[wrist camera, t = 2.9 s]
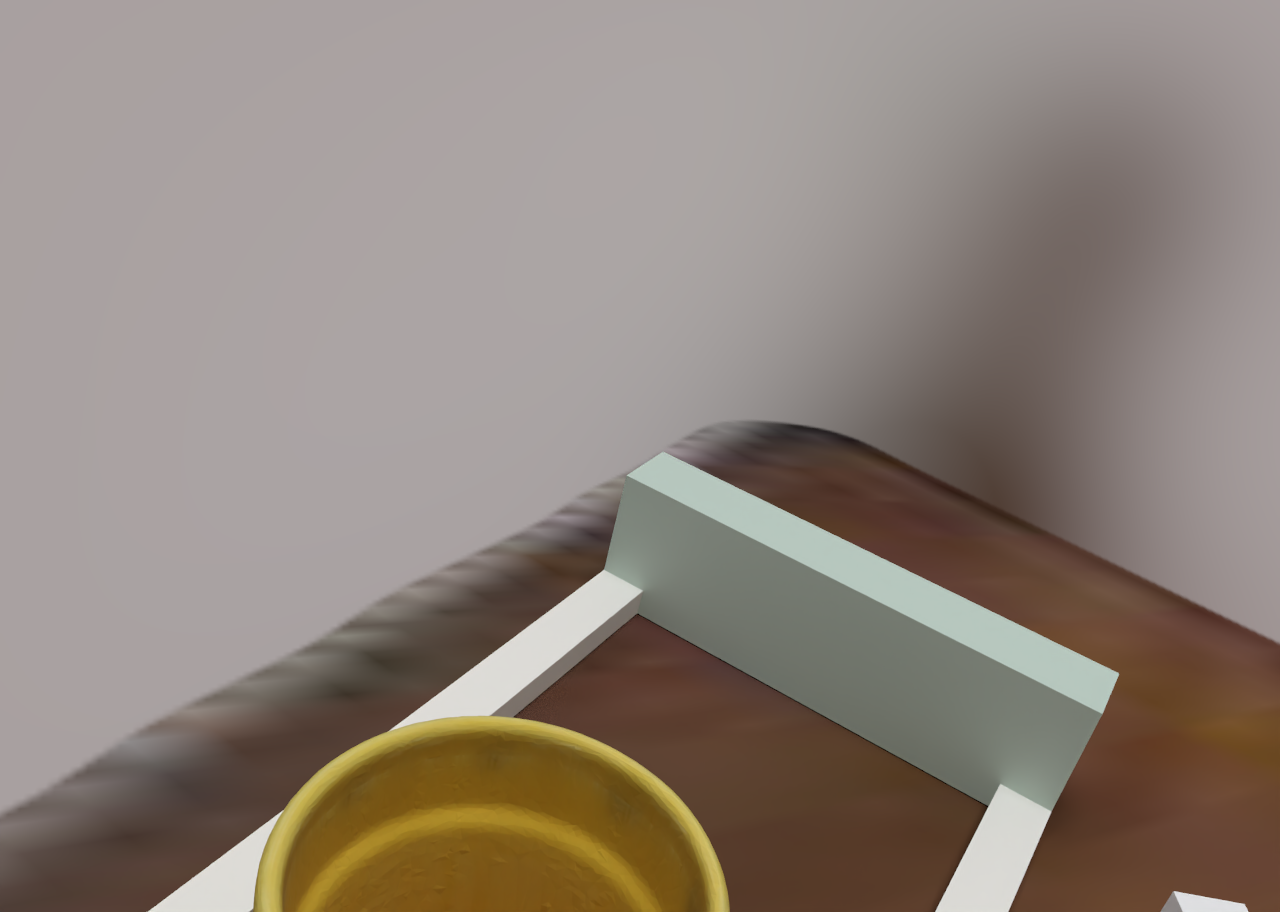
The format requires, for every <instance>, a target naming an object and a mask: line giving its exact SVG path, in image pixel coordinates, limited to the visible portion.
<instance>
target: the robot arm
mask: <svg viewBox="0 0 1280 912" xmlns="http://www.w3.org/2000/svg"><path fill="white" fill-rule="evenodd" d="M1161 912H1248V910H1247V908H1246V906H1245V904H1241V903H1235V902H1230V901H1224V900H1219V899H1213V898H1208V897H1203V896H1197V895H1192V894H1186V893H1181V892H1175V891H1173V893H1172V894H1171V896H1170V898H1169V899H1168V901H1167V902H1166V904H1165V905H1164V907H1163V909H1162V910H1161Z"/></svg>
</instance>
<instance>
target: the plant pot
mask: <svg viewBox="0 0 1280 912" xmlns="http://www.w3.org/2000/svg"><path fill="white" fill-rule="evenodd" d="M253 912H730V908H729V898H728V892H727V887H726V883H725V879H724V875H723V872H722V869H721V866H720V863H719V861H718V858H717V856H716V854H715V851H714V849H713V847H712V845H711V843H710V841H709V839H708V837H707V835H706V834H705V832H704V830H703V828H702V827H701V825H700V824H699V822H698V821H697V819H696V818H695V817H694V815H693V814H692V812H691V811H690V810H689V808H688V807H687V806H686V805H685V804H684V803H683V802H682V800H681V799H680V798H679V797H678V796H677V795H676V794H675V793H674V792H673V791H672V790H671V789H670V788H669V787H668V786H667V785H666V784H665V783H664V782H662V781H661V780H660V779H659V778H657V777H656V776H655V775H654V774H652V773H651V772H650V771H648V770H647V769H645V768H644V767H643V766H641V765H640V764H638V763H637V762H636V761H634V760H632V759H631V758H629V757H627V756H626V755H624V754H622V753H620V752H619V751H617V750H615V749H613V748H612V747H610V746H607V745H605V744H603V743H601V742H599V741H597V740H594V739H592V738H590V737H587V736H585V735H582V734H580V733H577V732H574V731H571V730H568V729H565V728H562V727H558V726H554V725H550V724H546V723H542V722H538V721H531V720H525V719H519V718H511V717H500V716H460V717H448V718H441V719H435V720H430V721H424V722H419V723H414V724H411V725H407V726H404V727H401V728H398V729H394V730H391V731H389V732H386V733H383V734H381V735H378V736H376V737H373V738H371V739H369V740H367V741H365V742H363V743H361V744H359V745H357V746H355V747H353V748H351V749H350V750H348V751H346V752H345V753H343V754H341V755H340V756H338V757H337V758H335V759H334V760H332V761H331V762H330V763H328V764H327V765H326V766H324V767H323V768H322V769H321V770H319V771H318V772H317V773H316V774H315V775H314V776H313V777H312V778H311V779H310V780H309V781H308V782H307V783H306V784H305V785H304V786H303V787H302V788H301V789H300V790H299V791H298V793H297V794H296V795H295V796H294V797H293V798H292V799H291V800H290V802H289V803H288V805H287V806H286V808H285V809H284V811H283V812H282V814H281V815H280V817H279V818H278V820H277V822H276V824H275V826H274V827H273V829H272V831H271V833H270V835H269V837H268V840H267V842H266V845H265V847H264V850H263V853H262V857H261V860H260V863H259V868H258V873H257V879H256V885H255V893H254V905H253Z"/></svg>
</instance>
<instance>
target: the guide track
mask: <svg viewBox="0 0 1280 912" xmlns="http://www.w3.org/2000/svg"><path fill="white" fill-rule="evenodd" d="M637 613H638V614H639V615H641V616H643V617H645V618H647V619H649V620H650V621H652V622H654V623H656V624H658V625H659V626H661V627H663V628H665V629H667V630H669V631H670V632H672V633H674V634H676V635H678V636H679V637H681V638H683V639H685V640H687V641H689V642H690V643H692V644H694V645H696V646H698V647H700V648H701V649H703V650H705V651H707V652H709V653H710V654H712V655H714V656H716V657H718V658H720V659H721V660H723V661H725V662H727V663H729V664H730V665H732V666H734V667H736V668H738V669H740V670H741V671H743V672H745V673H747V674H749V675H750V676H752V677H754V678H756V679H758V680H760V681H761V682H763V683H765V684H767V685H769V686H770V687H772V688H774V689H776V690H778V691H780V692H781V693H783V694H785V695H787V696H789V697H790V698H792V699H794V700H796V701H798V702H800V703H801V704H803V705H805V706H807V707H809V708H810V709H812V710H814V711H816V712H818V713H820V714H821V715H823V716H825V717H827V718H829V719H830V720H832V721H834V722H836V723H838V724H840V725H841V726H843V727H845V728H847V729H849V730H850V731H852V732H854V733H856V734H858V735H860V736H861V737H863V738H865V739H867V740H869V741H871V742H872V743H874V744H876V745H878V746H880V747H881V748H883V749H885V750H887V751H889V752H891V753H892V754H894V755H896V756H898V757H900V758H901V759H903V760H905V761H907V762H909V763H911V764H912V765H914V766H916V767H918V768H920V769H921V770H923V771H925V772H927V773H929V774H931V775H932V776H934V777H936V778H938V779H940V780H941V781H943V782H945V783H947V784H949V785H951V786H952V787H954V788H956V789H958V790H960V791H961V792H963V793H965V794H967V795H969V796H971V797H972V798H974V799H976V800H978V801H980V802H981V803H983V804H985V805H987V806H989V807H988V809H987V811H986V813H985V815H984V817H983V819H982V821H981V823H980V825H979V827H978V829H977V831H976V833H975V834H974V836H973V838H972V840H971V842H970V844H969V846H968V848H967V850H966V852H965V854H964V856H963V858H962V860H961V862H960V864H959V866H958V868H957V870H956V872H955V874H954V876H953V878H952V880H951V882H950V884H949V886H948V888H947V890H946V892H945V894H944V896H943V898H942V900H941V901H940V903H939V905H938V907H937V909H936V911H935V912H1008V911H1009V909H1010V907H1011V904H1012V902H1013V900H1014V897H1015V895H1016V893H1017V890H1018V888H1019V886H1020V883H1021V881H1022V879H1023V876H1024V874H1025V872H1026V869H1027V867H1028V865H1029V863H1030V860H1031V858H1032V856H1033V853H1034V851H1035V849H1036V846H1037V844H1038V842H1039V839H1040V837H1041V835H1042V832H1043V830H1044V828H1045V825H1046V823H1047V821H1048V818H1049V816H1050V814H1051V811H1052V810H1053V808H1054V806H1055V804H1056V802H1057V800H1058V798H1059V796H1060V794H1061V792H1062V790H1063V788H1064V787H1065V785H1066V783H1067V781H1068V779H1069V777H1070V775H1071V773H1072V771H1073V769H1074V767H1075V765H1076V763H1077V762H1078V760H1079V758H1080V756H1081V754H1082V752H1083V750H1084V748H1085V746H1086V744H1087V742H1088V740H1089V739H1090V737H1091V735H1092V733H1093V731H1094V729H1095V727H1096V725H1097V723H1098V721H1099V719H1100V717H1101V716H1102V714H1103V711H1104V709H1105V706H1106V704H1107V702H1108V699H1109V697H1110V694H1111V692H1112V690H1113V687H1114V685H1115V682H1116V680H1117V678H1118V675H1119V673H1117V672H1115V671H1113V670H1111V669H1109V668H1107V667H1105V666H1103V665H1100V664H1098V663H1096V662H1094V661H1092V660H1090V659H1088V658H1086V657H1084V656H1082V655H1080V654H1078V653H1076V652H1074V651H1072V650H1070V649H1068V648H1065V647H1063V646H1061V645H1059V644H1057V643H1055V642H1053V641H1051V640H1049V639H1047V638H1045V637H1043V636H1041V635H1039V634H1037V633H1035V632H1033V631H1031V630H1028V629H1026V628H1024V627H1022V626H1020V625H1018V624H1016V623H1014V622H1012V621H1010V620H1008V619H1006V618H1004V617H1002V616H1000V615H998V614H996V613H994V612H991V611H989V610H987V609H985V608H983V607H981V606H979V605H977V604H975V603H973V602H971V601H969V600H967V599H965V598H963V597H961V596H959V595H957V594H954V593H952V592H950V591H948V590H946V589H944V588H942V587H940V586H938V585H936V584H934V583H932V582H930V581H928V580H926V579H924V578H922V577H919V576H917V575H915V574H913V573H911V572H909V571H907V570H905V569H903V568H901V567H899V566H897V565H895V564H893V563H891V562H889V561H887V560H885V559H882V558H880V557H878V556H876V555H874V554H872V553H870V552H868V551H866V550H864V549H862V548H860V547H858V546H856V545H854V544H852V543H850V542H848V541H845V540H843V539H841V538H839V537H837V536H835V535H833V534H831V533H829V532H827V531H825V530H823V529H821V528H819V527H817V526H815V525H813V524H810V523H808V522H806V521H804V520H802V519H800V518H798V517H796V516H794V515H792V514H790V513H788V512H786V511H784V510H782V509H780V508H778V507H776V506H773V505H771V504H769V503H767V502H765V501H763V500H761V499H759V498H757V497H755V496H753V495H751V494H749V493H747V492H745V491H743V490H741V489H739V488H736V487H734V486H732V485H730V484H728V483H726V482H724V481H722V480H720V479H718V478H716V477H714V476H712V475H710V474H708V473H706V472H704V471H702V470H699V469H697V468H695V467H693V466H691V465H689V464H687V463H685V462H683V461H681V460H679V459H677V458H675V457H673V456H671V455H669V454H667V453H664V452H662V453H660V454H659V455H657V456H656V457H654V458H653V459H651V460H650V461H648V462H646V463H645V464H643V465H642V466H640V467H639V468H637V469H636V470H634V471H633V472H631V473H630V474H628V475H627V476H626V480H625V485H624V489H623V493H622V497H621V501H620V505H619V510H618V514H617V518H616V522H615V526H614V531H613V535H612V539H611V543H610V547H609V552H608V556H607V560H606V564H605V568H604V570H603V571H602V572H601V573H599V574H598V575H597V576H595V577H594V578H593V579H591V580H590V581H589V582H587V583H586V584H585V585H583V586H582V587H581V588H579V589H578V590H577V591H575V592H574V593H573V594H571V595H570V596H569V597H567V598H566V599H565V600H563V601H562V602H561V603H559V604H558V605H557V606H555V607H554V608H553V609H551V610H550V611H549V612H547V613H546V614H545V615H543V616H542V617H541V618H539V619H538V620H537V621H535V622H534V623H533V624H531V625H530V626H529V627H527V628H526V629H525V630H523V631H522V632H521V633H519V634H518V635H517V636H515V637H514V638H513V639H511V640H510V641H509V642H507V643H506V644H505V645H503V646H502V647H501V648H499V649H498V650H497V651H495V652H494V653H493V654H491V655H490V656H489V657H487V658H486V659H485V660H483V661H482V662H481V663H479V664H478V665H477V666H475V667H474V668H473V669H471V670H470V671H469V672H467V673H466V674H465V675H463V676H462V677H461V678H459V679H458V680H457V681H455V682H454V683H453V684H451V685H450V686H449V687H447V688H446V689H445V690H443V691H442V692H441V693H439V694H438V695H437V696H435V697H434V698H433V699H431V700H430V701H429V702H427V703H426V704H425V705H423V706H422V707H421V708H419V709H418V710H417V711H415V712H414V713H413V714H411V715H410V716H409V717H407V718H406V719H405V720H403V721H402V722H400V723H399V724H398V725H396V726H395V727H394V728H392V729H391V730H394V729H398V728H401V727H404V726H407V725H411V724H414V723H419V722H424V721H430V720H435V719H441V718H448V717H460V716H500V717H511V718H513V717H514V716H515V715H516V714H518V713H519V712H520V711H521V710H522V709H524V708H525V707H526V706H527V705H528V704H529V703H531V702H532V701H533V700H534V699H535V698H537V697H538V696H539V695H540V694H541V693H543V692H544V691H545V690H546V689H547V688H549V687H550V686H551V685H552V684H553V683H555V682H556V681H557V680H558V679H559V678H561V677H562V676H563V675H564V674H565V673H567V672H568V671H569V670H570V669H571V668H573V667H574V666H575V665H576V664H577V663H578V662H580V661H581V660H582V659H583V658H584V657H586V656H587V655H588V654H589V653H590V652H592V651H593V650H594V649H595V648H596V647H598V646H599V645H600V644H601V643H602V642H604V641H605V640H606V639H607V638H608V637H610V636H611V635H612V634H613V633H614V632H616V631H617V630H618V629H619V628H620V627H621V626H623V625H624V624H625V623H626V622H627V621H629V620H630V619H631V618H632V617H633V616H635V615H636V614H637ZM391 730H390V731H391ZM388 732H389V731H388ZM283 811H284V810H283ZM283 811H282V812H283ZM282 812H280V813H279V814H278V815H276V816H275V817H274V818H272V819H271V820H270V821H268V822H267V823H266V824H264V825H263V826H262V827H260V828H259V829H258V830H256V831H255V832H254V833H252V834H251V835H250V836H248V837H247V838H246V839H244V840H243V841H242V842H240V843H239V844H238V845H236V846H235V847H234V848H232V849H231V850H230V851H228V852H227V853H226V854H224V855H223V856H222V857H220V858H219V859H218V860H216V861H215V862H214V863H212V864H211V865H210V866H208V867H207V868H206V869H204V870H203V871H202V872H200V873H199V874H198V875H196V876H195V877H194V878H192V879H191V880H190V881H188V882H187V883H186V884H184V885H183V886H182V887H180V888H179V889H178V890H176V891H175V892H174V893H172V894H171V895H170V896H168V897H167V898H166V899H164V900H163V901H162V902H160V903H159V904H158V905H156V906H155V907H154V908H152V909H151V910H150V911H148V912H253V905H254V893H255V885H256V879H257V873H258V868H259V863H260V860H261V857H262V853H263V850H264V847H265V845H266V842H267V840H268V837H269V835H270V833H271V831H272V829H273V827H274V826H275V824H276V822H277V820H278V818H279V817H280V815H281V814H282Z"/></svg>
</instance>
